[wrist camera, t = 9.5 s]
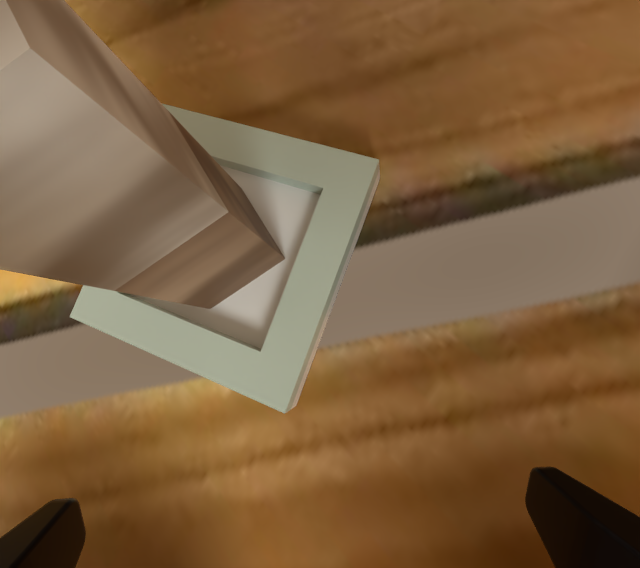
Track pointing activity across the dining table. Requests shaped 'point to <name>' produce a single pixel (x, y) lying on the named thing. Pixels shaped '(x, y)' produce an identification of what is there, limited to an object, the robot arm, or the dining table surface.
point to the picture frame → (271, 287)
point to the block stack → (110, 174)
